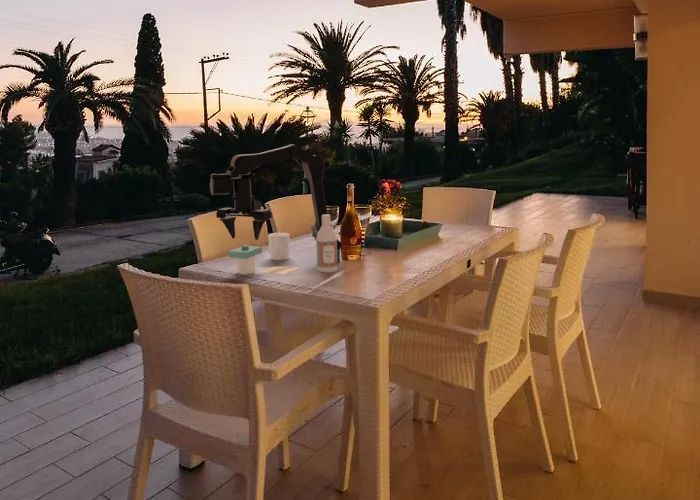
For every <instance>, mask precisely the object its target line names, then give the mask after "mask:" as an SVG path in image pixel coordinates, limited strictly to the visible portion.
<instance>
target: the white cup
mask: <svg viewBox="0 0 700 500" xmlns="http://www.w3.org/2000/svg"><path fill="white" fill-rule="evenodd" d="M290 243H291V242H290V233H288V232H272V233H269V234H268V244H269V247H268V248H269V254H270V260H274V261H283V260H288V259H289V258H290Z"/></svg>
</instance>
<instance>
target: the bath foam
mask: <svg viewBox="0 0 700 500" xmlns="http://www.w3.org/2000/svg"><path fill="white" fill-rule="evenodd" d="M330 224H331V214H328V213H327V214H325V215H322V226H321V228H320V230H319V231H318V234H317V238H316V240H315V241H316V270H317V272H321V273H333V272H336V271H338V263H337V240H338V239H337V234H336V232H335V230H334V227H333V226H332V224H331V225H330ZM331 226H332V227H331Z"/></svg>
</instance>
